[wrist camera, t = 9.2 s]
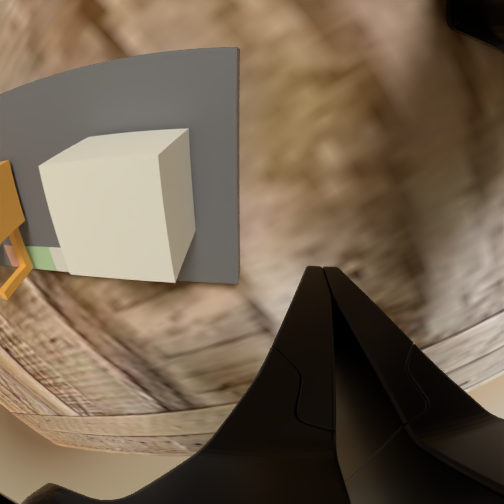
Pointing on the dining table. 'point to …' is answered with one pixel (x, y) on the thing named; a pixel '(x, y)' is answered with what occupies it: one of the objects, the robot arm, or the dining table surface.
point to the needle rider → (12, 228)
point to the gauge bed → (132, 120)
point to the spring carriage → (123, 204)
